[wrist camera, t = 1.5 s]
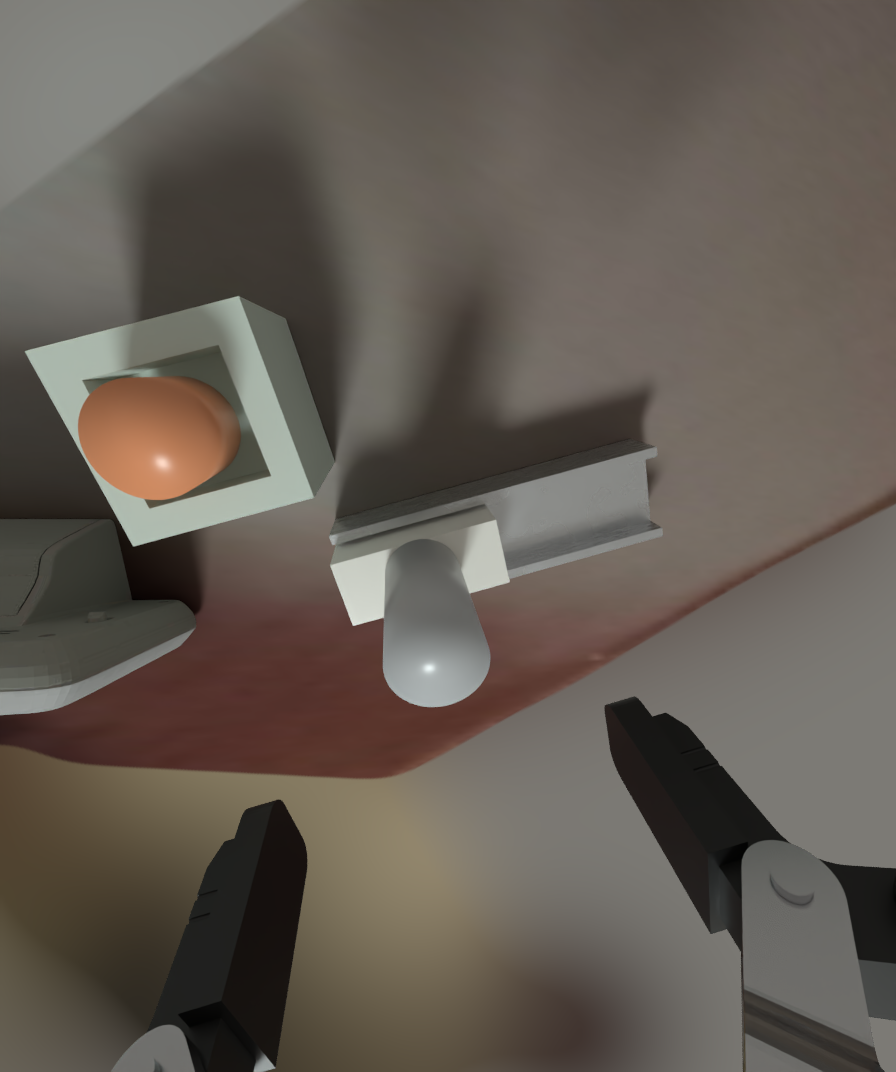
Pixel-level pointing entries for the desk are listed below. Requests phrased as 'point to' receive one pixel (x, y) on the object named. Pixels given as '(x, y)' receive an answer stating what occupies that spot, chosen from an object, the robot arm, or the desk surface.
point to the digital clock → (73, 614)
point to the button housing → (233, 370)
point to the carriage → (426, 600)
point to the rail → (541, 507)
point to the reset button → (158, 434)
